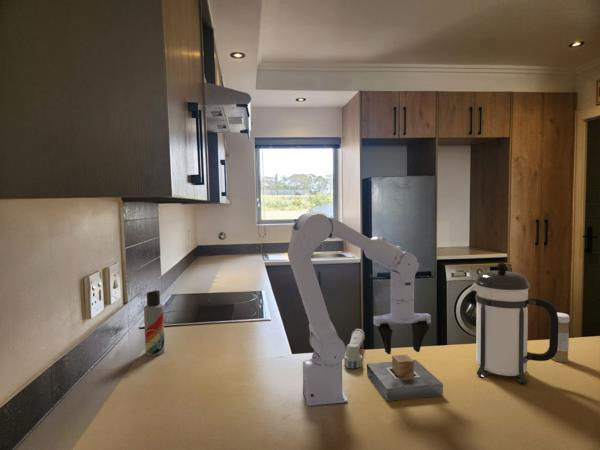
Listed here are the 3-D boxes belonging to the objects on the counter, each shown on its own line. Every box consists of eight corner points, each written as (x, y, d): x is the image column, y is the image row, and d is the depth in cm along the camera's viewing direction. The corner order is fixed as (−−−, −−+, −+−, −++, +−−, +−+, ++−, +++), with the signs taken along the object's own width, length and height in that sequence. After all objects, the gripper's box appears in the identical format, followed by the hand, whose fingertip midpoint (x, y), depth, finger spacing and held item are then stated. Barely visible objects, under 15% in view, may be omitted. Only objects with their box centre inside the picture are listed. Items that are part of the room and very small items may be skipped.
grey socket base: (386, 401, 85) (386, 388, 85) (366, 374, 99) (366, 362, 98) (442, 395, 87) (442, 382, 87) (415, 370, 101) (415, 358, 100)
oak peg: (398, 389, 90) (398, 362, 90) (392, 382, 94) (392, 355, 94) (413, 388, 91) (413, 360, 90) (406, 381, 95) (406, 354, 94)
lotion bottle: (153, 357, 112) (151, 293, 111) (141, 354, 115) (139, 291, 114) (168, 351, 117) (166, 289, 116) (156, 347, 120) (154, 287, 119)
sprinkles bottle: (546, 355, 109) (547, 311, 108) (563, 357, 108) (564, 312, 107) (554, 362, 104) (554, 316, 104) (572, 363, 103) (572, 316, 103)
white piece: (366, 328, 125) (361, 344, 101) (366, 348, 125) (361, 369, 101) (351, 327, 127) (342, 343, 102) (351, 346, 126) (342, 367, 102)
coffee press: (501, 391, 88) (502, 269, 87) (458, 364, 104) (459, 260, 103) (559, 382, 92) (561, 265, 91) (509, 357, 108) (510, 257, 107)
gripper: (380, 304, 87) (380, 360, 87) (437, 301, 89) (437, 355, 89) (370, 297, 94) (370, 349, 94) (423, 294, 96) (423, 345, 96)
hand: (402, 351), depth 92 cm, fingers open, 7 cm apart
